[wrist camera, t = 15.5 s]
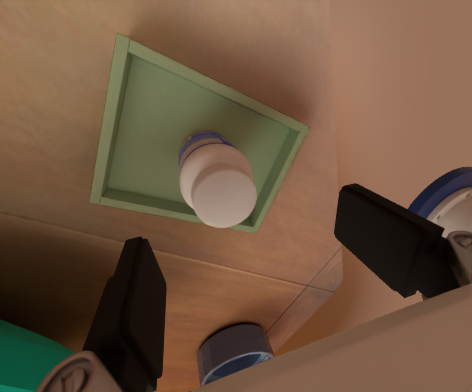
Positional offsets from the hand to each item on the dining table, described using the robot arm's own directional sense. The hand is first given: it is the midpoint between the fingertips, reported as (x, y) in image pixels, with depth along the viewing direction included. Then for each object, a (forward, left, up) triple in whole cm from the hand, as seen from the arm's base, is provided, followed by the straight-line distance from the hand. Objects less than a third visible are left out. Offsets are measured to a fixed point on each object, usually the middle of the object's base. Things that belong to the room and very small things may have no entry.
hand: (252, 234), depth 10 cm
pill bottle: (0, 0, -13) cm, 13 cm away
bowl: (-16, +33, -14) cm, 39 cm away
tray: (+1, 0, -14) cm, 14 cm away
